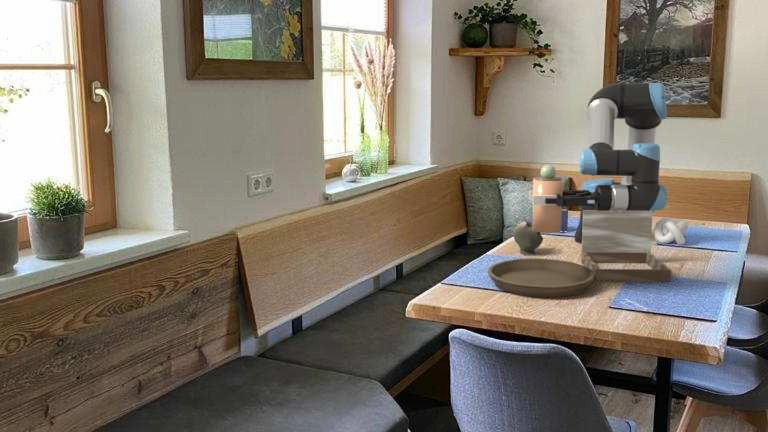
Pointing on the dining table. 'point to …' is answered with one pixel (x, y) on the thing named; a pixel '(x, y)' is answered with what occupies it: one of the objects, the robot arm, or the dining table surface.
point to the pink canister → (547, 215)
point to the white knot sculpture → (670, 230)
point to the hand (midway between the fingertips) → (531, 197)
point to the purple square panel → (564, 220)
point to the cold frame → (620, 245)
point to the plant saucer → (541, 277)
